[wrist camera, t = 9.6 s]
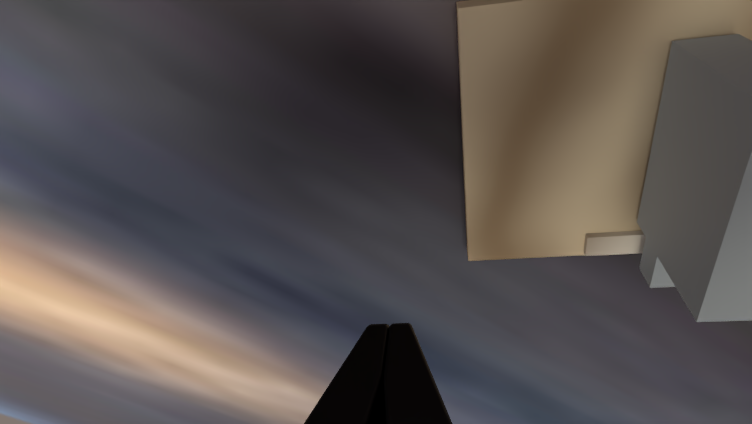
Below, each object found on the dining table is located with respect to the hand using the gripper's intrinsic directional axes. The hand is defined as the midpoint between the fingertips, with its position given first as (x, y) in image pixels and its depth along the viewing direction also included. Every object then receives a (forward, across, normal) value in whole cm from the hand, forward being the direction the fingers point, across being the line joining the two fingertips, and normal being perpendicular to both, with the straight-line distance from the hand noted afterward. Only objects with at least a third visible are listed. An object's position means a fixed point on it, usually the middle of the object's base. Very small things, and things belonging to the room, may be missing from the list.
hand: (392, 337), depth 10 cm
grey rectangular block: (+11, -13, +3) cm, 17 cm away
